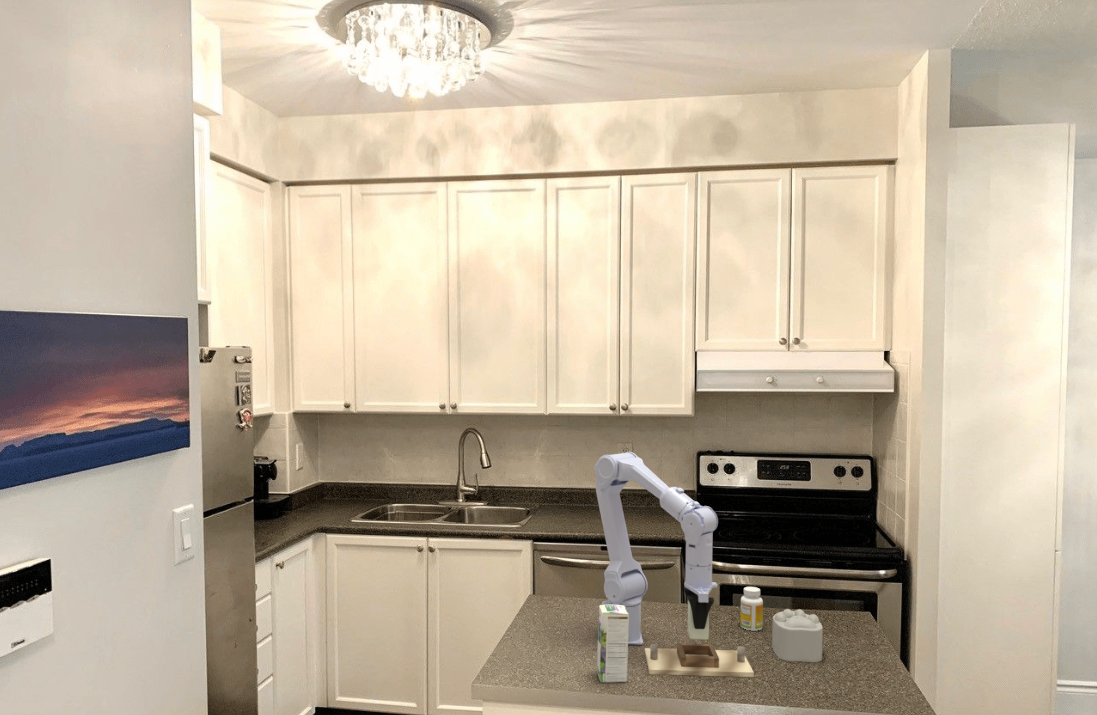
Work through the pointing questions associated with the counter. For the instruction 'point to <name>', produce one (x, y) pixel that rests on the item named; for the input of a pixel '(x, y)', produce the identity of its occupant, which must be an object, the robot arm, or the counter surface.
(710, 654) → the socket plate
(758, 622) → the supplement bottle
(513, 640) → the counter surface
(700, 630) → the sage peg
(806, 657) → the lumpy-topped squat cylinder
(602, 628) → the syrup box
